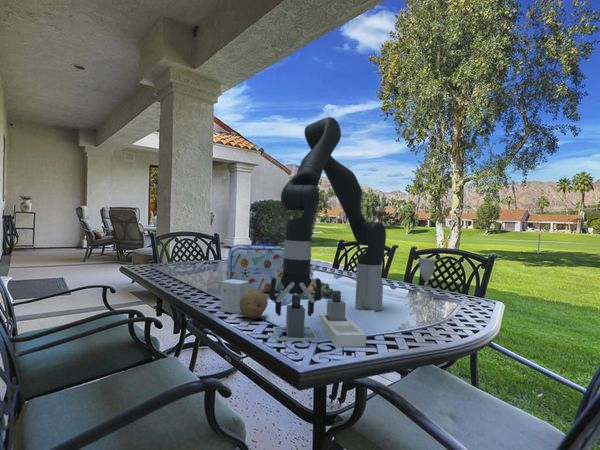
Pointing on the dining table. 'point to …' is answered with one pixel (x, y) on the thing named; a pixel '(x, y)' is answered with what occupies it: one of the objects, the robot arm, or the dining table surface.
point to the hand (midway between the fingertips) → (294, 315)
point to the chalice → (426, 272)
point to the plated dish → (325, 292)
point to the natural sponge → (253, 303)
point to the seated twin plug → (336, 308)
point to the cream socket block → (342, 332)
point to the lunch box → (256, 265)
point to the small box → (232, 295)
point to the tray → (295, 338)
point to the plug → (295, 318)
